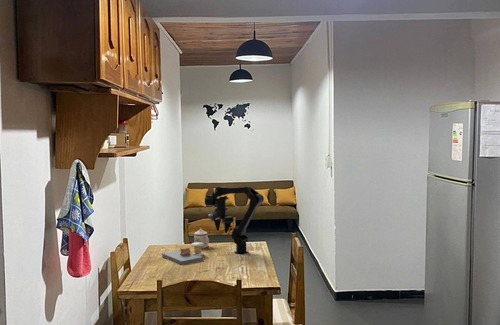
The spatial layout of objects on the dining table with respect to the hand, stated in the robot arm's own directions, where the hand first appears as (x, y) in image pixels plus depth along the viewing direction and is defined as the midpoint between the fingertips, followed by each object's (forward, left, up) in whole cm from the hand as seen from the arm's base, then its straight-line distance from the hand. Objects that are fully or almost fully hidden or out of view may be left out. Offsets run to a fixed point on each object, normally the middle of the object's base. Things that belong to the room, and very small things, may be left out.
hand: (221, 231), depth 291 cm
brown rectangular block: (0, +26, -12) cm, 29 cm away
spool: (+1, +17, -12) cm, 21 cm away
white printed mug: (+17, +4, -12) cm, 21 cm away
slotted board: (0, +28, -12) cm, 30 cm away
